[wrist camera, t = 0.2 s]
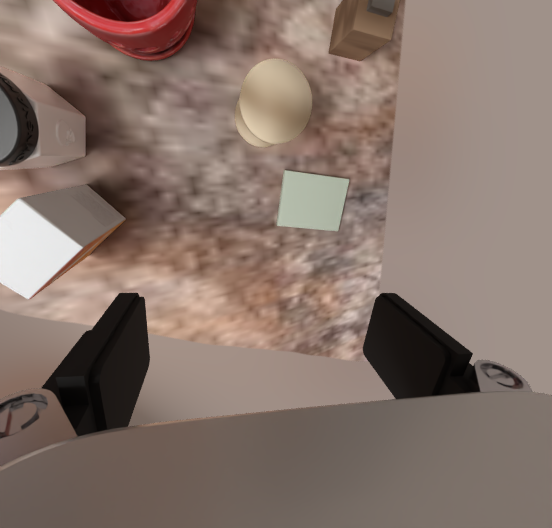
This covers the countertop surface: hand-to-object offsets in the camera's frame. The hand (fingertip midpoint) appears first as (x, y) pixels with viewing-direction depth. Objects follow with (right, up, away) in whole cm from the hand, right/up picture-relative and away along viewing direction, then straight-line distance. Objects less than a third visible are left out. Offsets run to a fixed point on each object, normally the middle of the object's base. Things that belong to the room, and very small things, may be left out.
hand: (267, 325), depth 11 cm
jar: (-27, +19, +21) cm, 39 cm away
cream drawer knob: (-2, +22, +25) cm, 33 cm away
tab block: (+10, +31, +23) cm, 40 cm away
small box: (-25, +8, +26) cm, 37 cm away
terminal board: (+6, +12, +30) cm, 33 cm away
